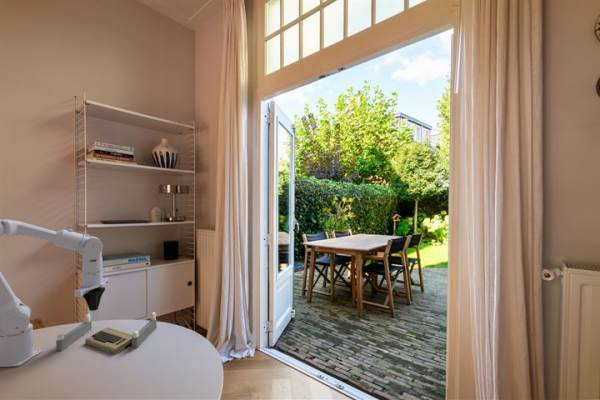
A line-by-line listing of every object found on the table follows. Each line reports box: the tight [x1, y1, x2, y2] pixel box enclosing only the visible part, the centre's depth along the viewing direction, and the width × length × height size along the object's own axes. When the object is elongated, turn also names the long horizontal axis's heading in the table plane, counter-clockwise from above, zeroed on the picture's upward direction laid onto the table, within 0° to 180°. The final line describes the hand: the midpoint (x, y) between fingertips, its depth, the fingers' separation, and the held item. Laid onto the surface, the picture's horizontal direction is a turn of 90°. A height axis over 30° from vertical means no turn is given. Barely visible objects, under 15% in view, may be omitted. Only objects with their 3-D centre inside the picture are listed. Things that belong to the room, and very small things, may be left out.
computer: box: [84, 327, 133, 355], centre depth 95 cm, size 16×8×3 cm, turn 66°
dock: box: [55, 311, 158, 352], centre depth 98 cm, size 25×14×6 cm, turn 93°
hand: (93, 309), depth 99 cm, fingers closed
